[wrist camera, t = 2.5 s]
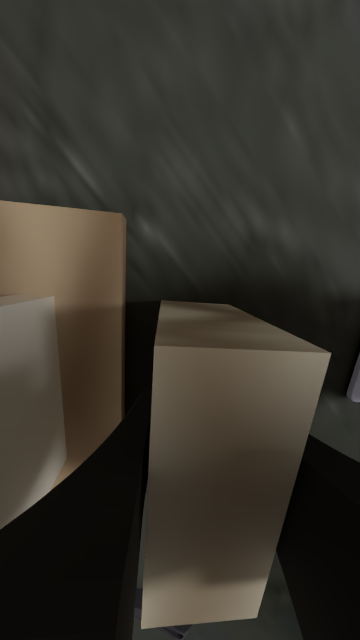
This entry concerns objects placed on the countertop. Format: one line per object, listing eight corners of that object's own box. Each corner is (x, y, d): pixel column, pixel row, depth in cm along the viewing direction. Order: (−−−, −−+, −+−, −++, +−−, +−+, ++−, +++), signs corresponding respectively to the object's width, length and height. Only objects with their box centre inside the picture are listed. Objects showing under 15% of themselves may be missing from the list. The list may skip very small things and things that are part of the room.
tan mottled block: (229, 304, 11) (331, 352, 4) (210, 443, 13) (256, 617, 7) (161, 300, 11) (154, 345, 4) (153, 443, 13) (141, 628, 6)
